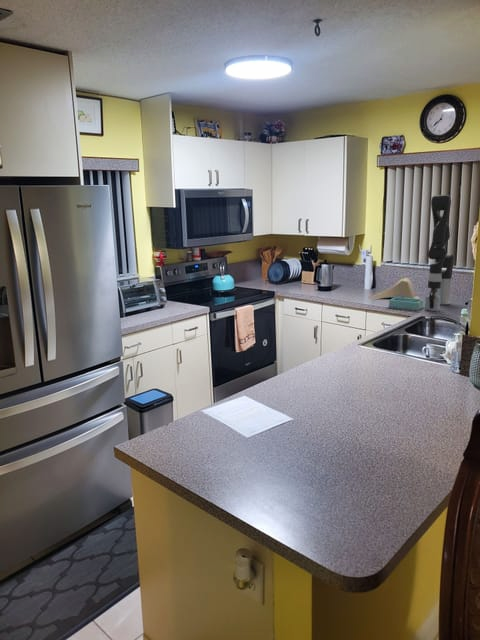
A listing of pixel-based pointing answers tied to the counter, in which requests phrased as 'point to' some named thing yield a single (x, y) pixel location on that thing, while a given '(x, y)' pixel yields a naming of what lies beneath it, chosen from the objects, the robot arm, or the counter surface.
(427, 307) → the medicine box
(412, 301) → the tote
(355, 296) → the counter surface
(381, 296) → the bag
